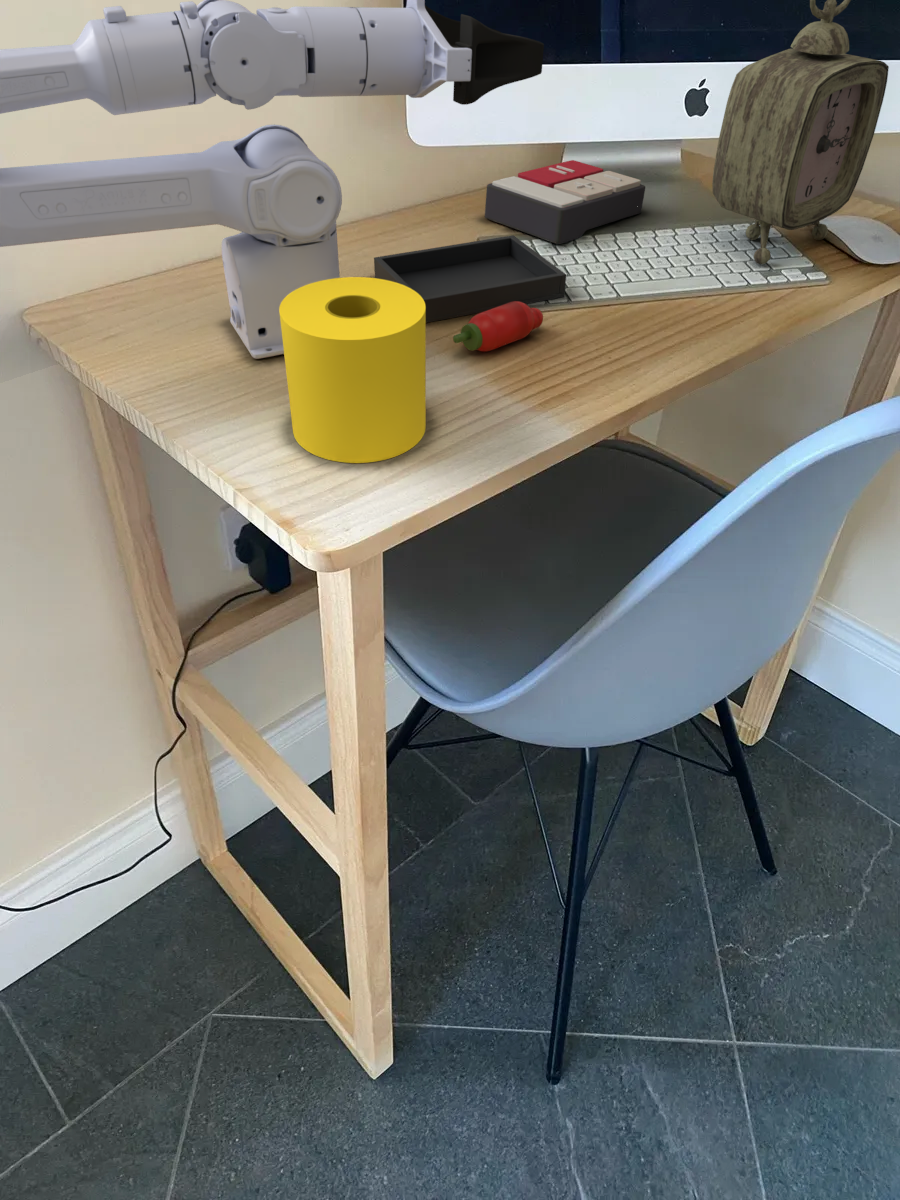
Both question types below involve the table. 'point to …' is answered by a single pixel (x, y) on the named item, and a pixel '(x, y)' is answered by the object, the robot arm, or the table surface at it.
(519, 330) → the chili
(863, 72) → the tabletop clock
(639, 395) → the table surface
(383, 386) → the yellow toilet paper roll
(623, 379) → the table surface
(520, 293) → the tray
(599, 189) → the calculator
